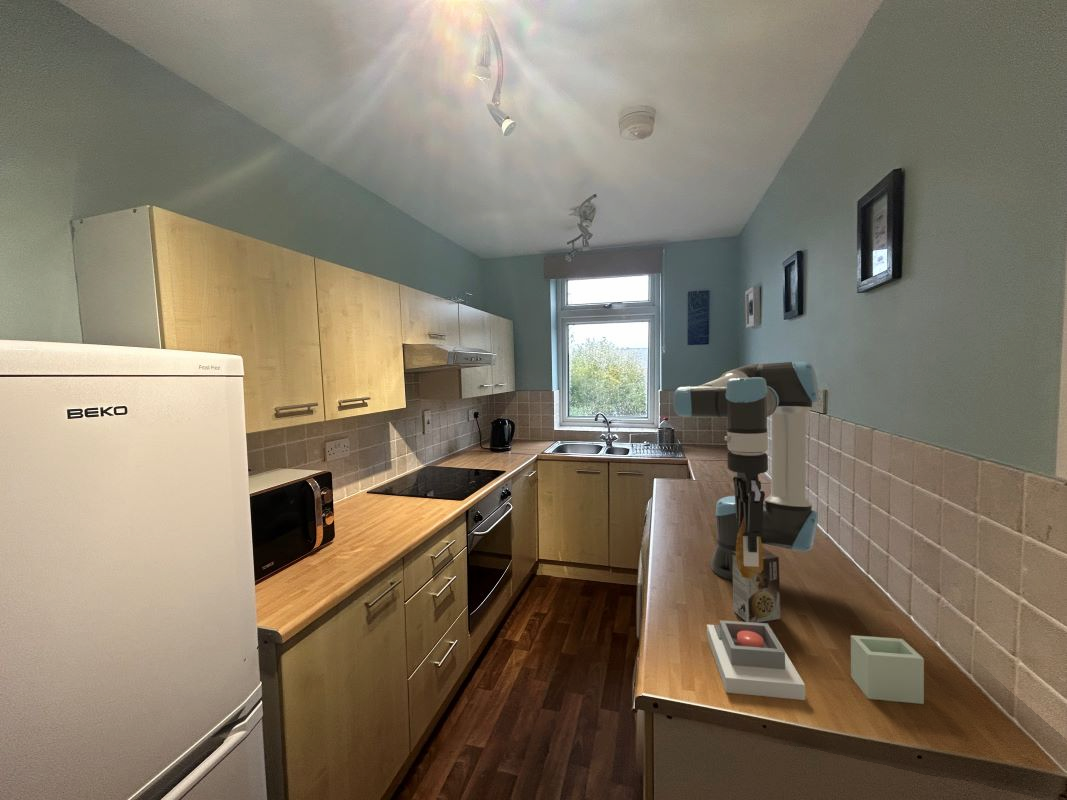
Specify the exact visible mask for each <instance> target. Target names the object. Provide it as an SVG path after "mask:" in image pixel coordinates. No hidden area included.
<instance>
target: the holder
mask: <svg viewBox="0 0 1067 800" xmlns="http://www.w3.org/2000/svg"><path fill="white" fill-rule="evenodd" d="M850 677H851V679H853V681H854V682H855V683H856V685H857V687H859V689H860V690H861V691H862V692H863V695H864V696H865V697H866V698H867V699H868V700H881V701H887V702H897V703H898V702H900V703H908V704H909V703H910V704H920V705H924V703H925V691H924V690H925V688H924V687H925V685H924V684H925V659H924V657H923V656H922V655H921V654H919V653H918V652H917V650H915V649H914V648H913V647H912V646H911V645H909V643H908V642H906V640H905V639H903V638H898V637H896V638H895V637H882V636H881V637H880V636H867V635H854V634H851V635H850Z"/></svg>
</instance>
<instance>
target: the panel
mask: <svg viewBox="0 0 1067 800" xmlns="http://www.w3.org/2000/svg"><path fill="white" fill-rule="evenodd" d="M718 621H719V622H718V623H719V624H706V639H707V640H708V643H709V646H710V649H711V652H712V656H713V658H714V661H715V664H716V667H717V669H718V673H719V676H720V678H721V681H722V682H721V683H722V684H723V687H724V690H725V693H728V694H739V695H748V696H749V695H750V696H760V697H769V698H778V699H779V698H780V699H788V700H789V699H790V700H797V701H798V700H800V701H806V685H805V682H804V681H803V679H802V678H801V676H800V674H799V673H798V671H797V669H796V667H795V666H794V664H793V663H792V661H791V659H790V657H789V656H788V654H787V653H786V651H785V649H784V648H783V646H782V644H781V642H780V641H779V640H778V637H777V636H776V634H775V633H774V630H773V629H772V628H771V627H770V625H769V623H767V622H766V623H764V622H758V623H753V622H746V621H737V620H720V619H719V620H718ZM740 631H752V632H755V633H757V634H759V635H760V636H761V637H762V638H763V640H764V648H760V647H747V646H737V633H738V632H740Z"/></svg>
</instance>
